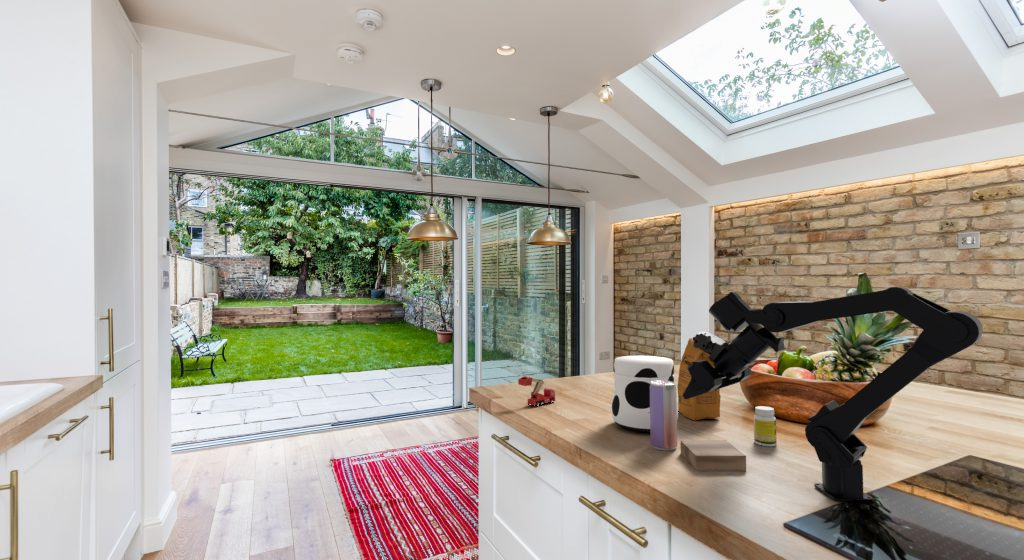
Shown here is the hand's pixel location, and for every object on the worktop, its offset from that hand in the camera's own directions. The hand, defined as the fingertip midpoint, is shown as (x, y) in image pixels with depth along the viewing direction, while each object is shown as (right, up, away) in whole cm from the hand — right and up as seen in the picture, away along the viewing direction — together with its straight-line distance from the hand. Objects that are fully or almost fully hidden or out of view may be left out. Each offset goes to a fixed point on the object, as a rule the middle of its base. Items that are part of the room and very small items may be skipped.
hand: (694, 394), depth 107 cm
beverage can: (-5, -14, +5) cm, 16 cm away
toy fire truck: (-32, -15, +47) cm, 59 cm away
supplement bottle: (+19, -14, +7) cm, 25 cm away
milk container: (-5, -14, +22) cm, 27 cm away
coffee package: (+13, -14, +32) cm, 38 cm away
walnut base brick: (+2, -13, -4) cm, 14 cm away
